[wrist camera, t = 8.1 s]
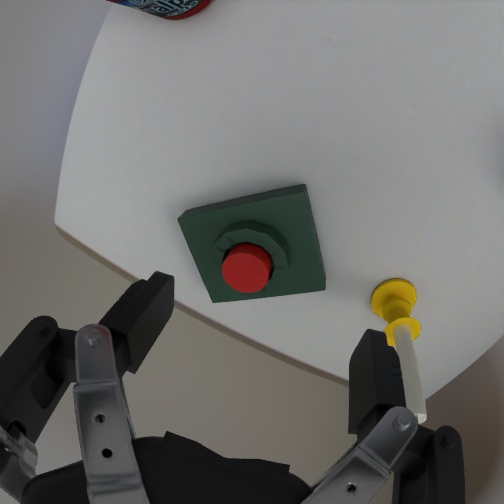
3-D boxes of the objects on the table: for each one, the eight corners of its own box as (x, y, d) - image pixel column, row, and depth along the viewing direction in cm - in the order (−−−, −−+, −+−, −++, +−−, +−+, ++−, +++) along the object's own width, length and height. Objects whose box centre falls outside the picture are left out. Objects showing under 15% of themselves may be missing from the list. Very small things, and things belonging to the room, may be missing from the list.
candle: (360, 303, 31) (370, 433, 18) (391, 269, 28) (425, 401, 15) (393, 322, 31) (412, 444, 18) (424, 292, 28) (463, 415, 15)
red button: (235, 284, 28) (230, 295, 27) (221, 247, 26) (215, 257, 25) (276, 278, 27) (273, 290, 25) (264, 239, 25) (260, 249, 24)
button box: (218, 291, 34) (207, 314, 30) (185, 210, 29) (168, 227, 26) (325, 277, 30) (325, 302, 27) (305, 183, 26) (303, 198, 22)
